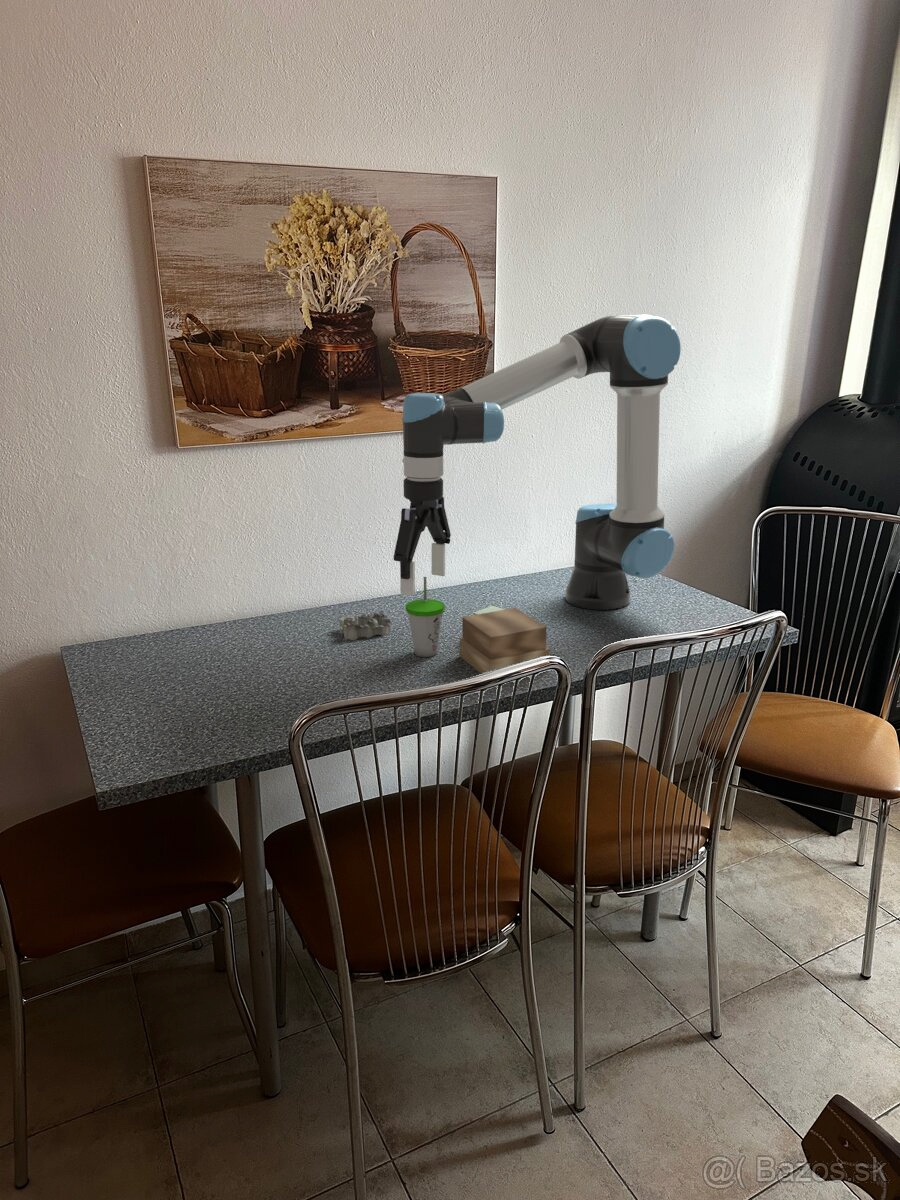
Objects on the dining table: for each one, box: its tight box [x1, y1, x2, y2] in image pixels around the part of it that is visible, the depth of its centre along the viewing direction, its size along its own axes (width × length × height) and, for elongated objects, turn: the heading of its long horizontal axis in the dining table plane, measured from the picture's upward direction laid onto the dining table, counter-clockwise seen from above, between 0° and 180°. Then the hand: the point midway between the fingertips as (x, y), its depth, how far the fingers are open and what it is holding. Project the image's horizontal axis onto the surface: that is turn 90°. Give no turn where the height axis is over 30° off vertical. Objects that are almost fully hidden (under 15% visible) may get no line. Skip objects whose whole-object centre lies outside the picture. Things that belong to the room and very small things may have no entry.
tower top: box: [461, 607, 548, 660], centre depth 168 cm, size 12×12×4 cm
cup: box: [405, 576, 446, 658], centre depth 172 cm, size 8×8×15 cm
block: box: [472, 605, 506, 615], centre depth 181 cm, size 6×6×6 cm
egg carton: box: [337, 609, 393, 641], centre depth 185 cm, size 11×8×4 cm
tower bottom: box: [459, 636, 551, 674], centre depth 170 cm, size 13×13×4 cm
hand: (423, 584), depth 170 cm, fingers open, 13 cm apart
